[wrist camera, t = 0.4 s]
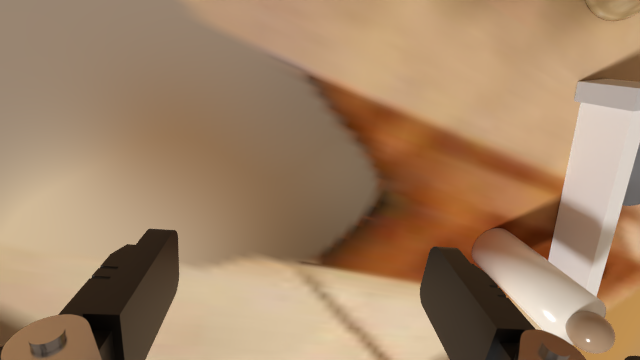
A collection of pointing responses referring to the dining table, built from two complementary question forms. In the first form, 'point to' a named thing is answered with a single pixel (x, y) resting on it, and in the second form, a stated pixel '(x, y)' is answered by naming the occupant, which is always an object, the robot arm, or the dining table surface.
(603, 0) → the hand bell
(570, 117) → the dining table surface
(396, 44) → the dining table surface
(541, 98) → the dining table surface
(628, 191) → the coaster
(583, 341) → the shaker
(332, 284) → the dining table surface
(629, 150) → the rail
